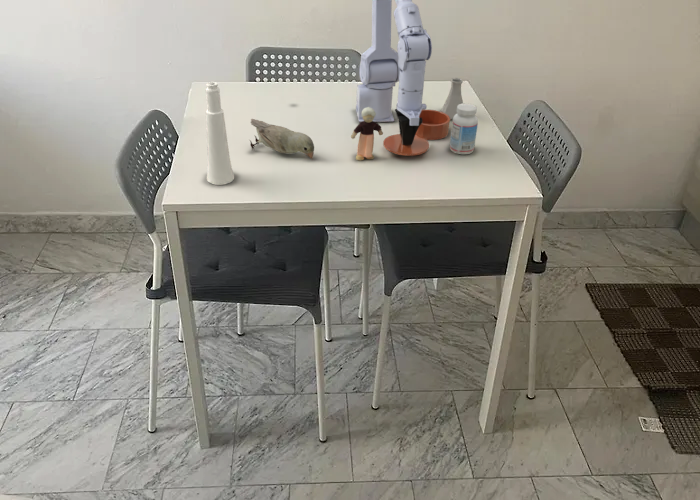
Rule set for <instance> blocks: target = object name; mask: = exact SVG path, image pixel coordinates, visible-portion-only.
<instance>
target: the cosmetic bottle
mask: <svg viewBox="0 0 700 500" xmlns="http://www.w3.org/2000/svg"><path fill="white" fill-rule="evenodd" d="M220 92H221V91H220V88H219V84H218V82H216V81H209V82H207V83H206V88H205V96H206V97H205V98H206V106H207V107H206V108H207V109H206V110H205V126H206V147H207V172H206V181H207V182H208V183H209V184H212V185H215V186H223V185H228V184H230V183H232V182H233V181H234V180H235V174H234V170H233V167H232V161H231V156H230V151H229V142H228V136H227V135H228V133H227V127H226V120H225V114H224V113H225V112H224V109H223V108H222V103H221V93H220Z"/></svg>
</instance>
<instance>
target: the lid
mask: <svg viewBox="0 0 700 500" xmlns="http://www.w3.org/2000/svg"><path fill="white" fill-rule="evenodd" d="M382 145H383V148H384V149H385V150H386V151H388V152H389V153H392V154H395V155H399V156H406V157H407V156H409V157H410V156H418V155H422V154H425V153H426V152H428V151H429V149H430V142H429V140H426V139H424V138H422V137H420V136H417V135H415V137H414V140H413V143H412V145H404V144H403V140H402V137H401V136H400V133H396V134H391V135H388V136H387V137H385V138H384V140H383V143H382Z"/></svg>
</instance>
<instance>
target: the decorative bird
mask: <svg viewBox="0 0 700 500" xmlns="http://www.w3.org/2000/svg"><path fill="white" fill-rule="evenodd" d="M250 124H251V126H253V127H255V129H256V133H257V136H256V135H255V134H254V137H255V142H256V143H253V142H252V140H249V144H250V148H251V151H254V150H255V148H256V146H259V145H260V144H262V145H264V146H265V147H266V148H269V149H271V150H273V151H276V152H278V153H280V154H289V155H291V154H292V155H293V154H296V153H303V154H304V155H306V156H307V157H308V158H309V159H313V158H314V155H315V154H314V153H315V144H314V141H313V140H312V138H311V137H310V136H309V135H308V134H306V133H304V132H299V131H295V130H291V129H289V128H287V127H284V126H282V125H275V124H270V123H268V122H265V121H263V120H259V119H256V118H251V119H250Z"/></svg>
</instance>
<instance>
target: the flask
mask: <svg viewBox="0 0 700 500" xmlns="http://www.w3.org/2000/svg"><path fill="white" fill-rule="evenodd" d="M463 82H464V80H463V79H462V78H458V77H452V78H451V79H450V83H451V86H450V89H449V93H448V95H447V98H446V99H445V101H444V104H443V106H442V108H441V110H440V112H443V113H445V114H447V115H448V116H449V117H450V120H452V121H453V117H454V115H456V114H457V106H458V105H459V104H463V103H464V100H463V95H462V84H463Z"/></svg>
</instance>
